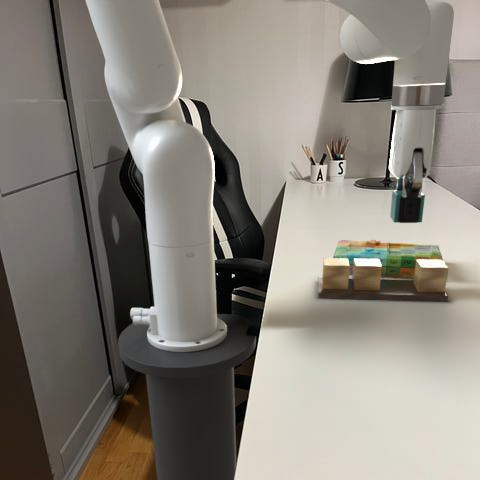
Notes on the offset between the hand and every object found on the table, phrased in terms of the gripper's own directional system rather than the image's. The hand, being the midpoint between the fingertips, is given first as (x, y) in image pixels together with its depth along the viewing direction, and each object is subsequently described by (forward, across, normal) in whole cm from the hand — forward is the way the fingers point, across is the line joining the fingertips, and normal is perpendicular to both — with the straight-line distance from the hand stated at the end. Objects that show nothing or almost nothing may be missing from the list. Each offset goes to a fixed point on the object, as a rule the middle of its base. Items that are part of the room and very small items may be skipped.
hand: (405, 217), depth 83 cm
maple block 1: (+12, 0, -11) cm, 16 cm away
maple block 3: (+12, 0, +5) cm, 13 cm away
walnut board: (+13, 0, -3) cm, 14 cm away
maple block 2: (+12, 0, -6) cm, 13 cm away
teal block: (0, 0, 0) cm, 0 cm away
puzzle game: (+14, -13, 0) cm, 19 cm away
